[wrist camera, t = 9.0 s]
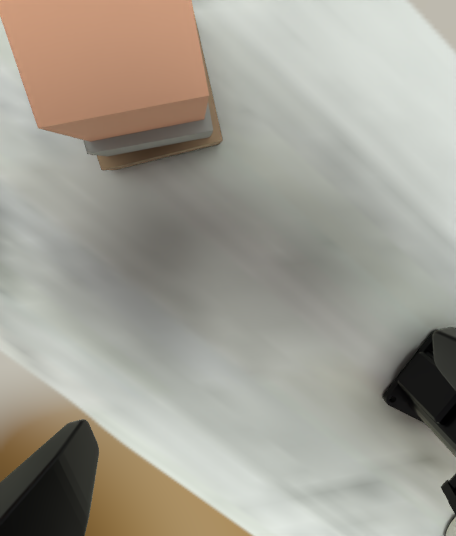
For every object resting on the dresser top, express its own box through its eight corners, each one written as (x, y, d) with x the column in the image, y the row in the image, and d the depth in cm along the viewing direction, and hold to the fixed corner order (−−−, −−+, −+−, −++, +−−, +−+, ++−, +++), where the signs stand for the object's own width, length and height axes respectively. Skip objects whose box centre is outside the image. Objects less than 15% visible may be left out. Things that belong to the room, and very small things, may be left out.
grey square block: (187, 16, 15) (185, -21, 12) (209, 137, 16) (213, 130, 13) (73, 36, 14) (43, 3, 11) (107, 156, 16) (87, 154, 13)
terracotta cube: (177, -18, 12) (167, -125, 7) (204, 119, 13) (209, 95, 9) (49, 5, 12) (-37, -92, 7) (90, 141, 13) (38, 128, 9)
